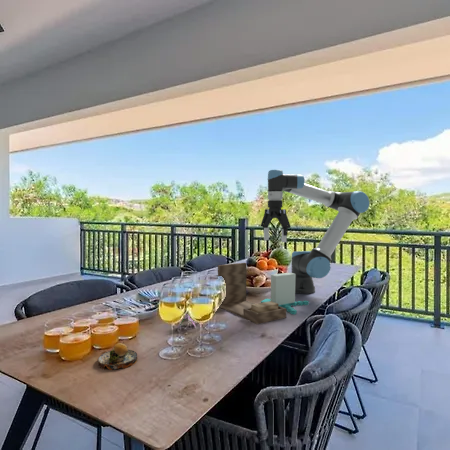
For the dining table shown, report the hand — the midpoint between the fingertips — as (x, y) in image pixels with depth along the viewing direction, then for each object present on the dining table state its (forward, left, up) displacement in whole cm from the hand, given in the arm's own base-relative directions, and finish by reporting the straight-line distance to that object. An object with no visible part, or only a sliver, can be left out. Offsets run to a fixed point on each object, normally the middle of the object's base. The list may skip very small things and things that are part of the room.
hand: (274, 241), depth 182 cm
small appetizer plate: (+90, +31, -31) cm, 100 cm away
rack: (+24, +11, -31) cm, 41 cm away
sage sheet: (+5, +12, -29) cm, 32 cm away
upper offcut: (+24, +22, -27) cm, 42 cm away
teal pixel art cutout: (+5, +12, -31) cm, 34 cm away
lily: (+56, +14, -31) cm, 66 cm away
